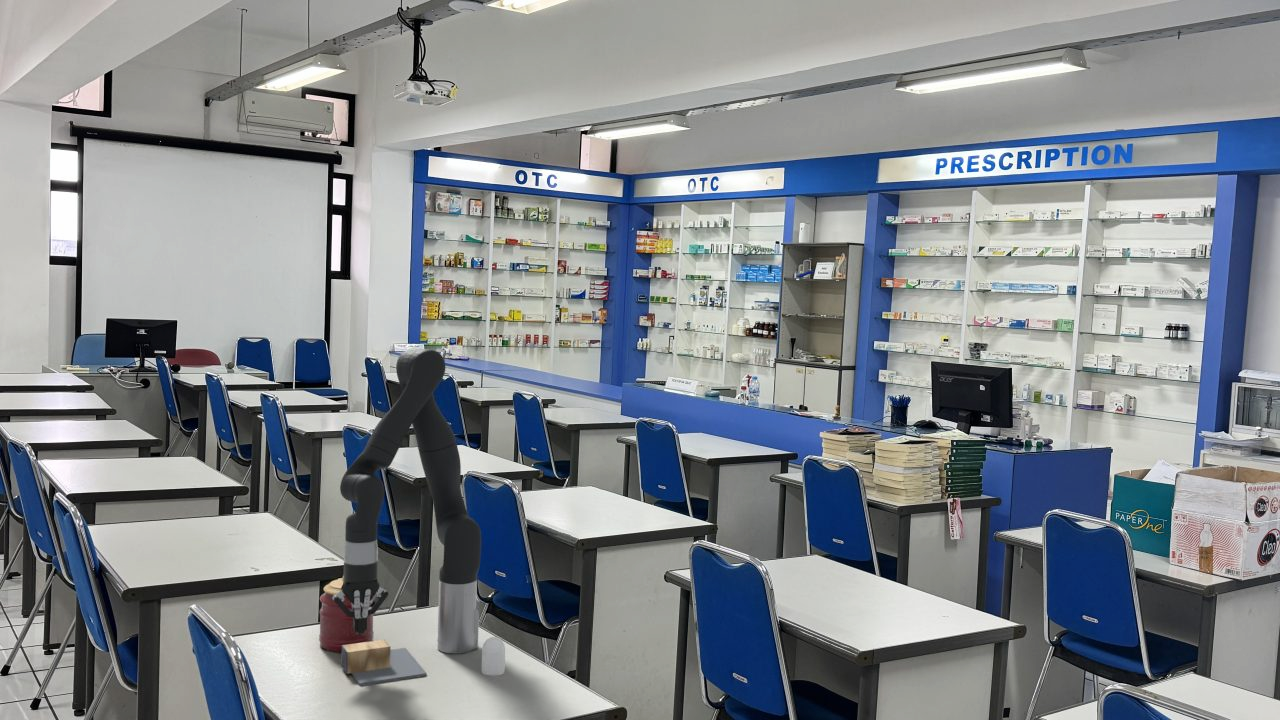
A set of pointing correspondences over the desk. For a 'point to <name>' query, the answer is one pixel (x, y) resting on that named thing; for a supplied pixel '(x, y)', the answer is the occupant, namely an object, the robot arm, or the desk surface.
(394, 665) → the mat
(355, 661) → the oak block
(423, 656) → the desk surface
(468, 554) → the robot arm
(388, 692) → the desk surface
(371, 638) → the canister
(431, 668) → the desk surface
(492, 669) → the white domed cylinder
